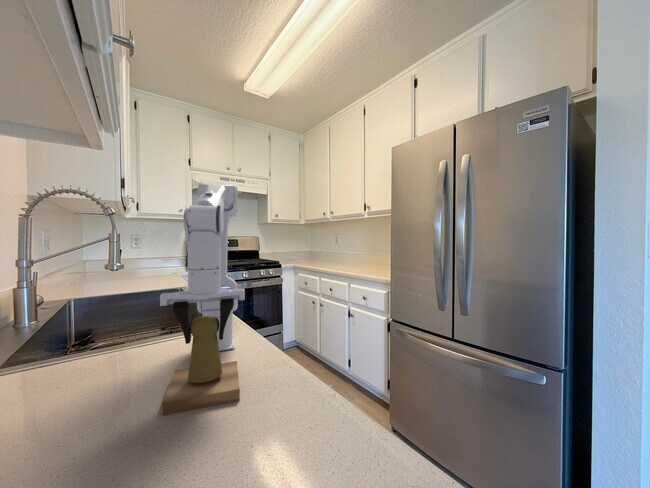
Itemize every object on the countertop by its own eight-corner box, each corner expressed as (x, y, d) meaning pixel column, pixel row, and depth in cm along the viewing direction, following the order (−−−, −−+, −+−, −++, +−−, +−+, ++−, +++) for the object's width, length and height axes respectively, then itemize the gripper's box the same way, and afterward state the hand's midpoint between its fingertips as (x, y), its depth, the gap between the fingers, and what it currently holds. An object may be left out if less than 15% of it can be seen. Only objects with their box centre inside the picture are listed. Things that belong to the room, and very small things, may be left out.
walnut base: (175, 379, 56) (174, 370, 56) (236, 370, 60) (236, 361, 60) (162, 415, 44) (162, 402, 44) (239, 400, 49) (239, 388, 49)
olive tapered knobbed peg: (212, 383, 48) (211, 320, 49) (180, 382, 49) (179, 320, 49) (228, 368, 54) (227, 313, 55) (199, 367, 55) (198, 313, 55)
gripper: (155, 272, 46) (156, 353, 46) (245, 269, 51) (246, 342, 51) (164, 268, 52) (164, 339, 52) (243, 266, 57) (243, 330, 57)
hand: (204, 339), depth 52 cm, fingers closed on olive tapered knobbed peg, 5 cm apart
